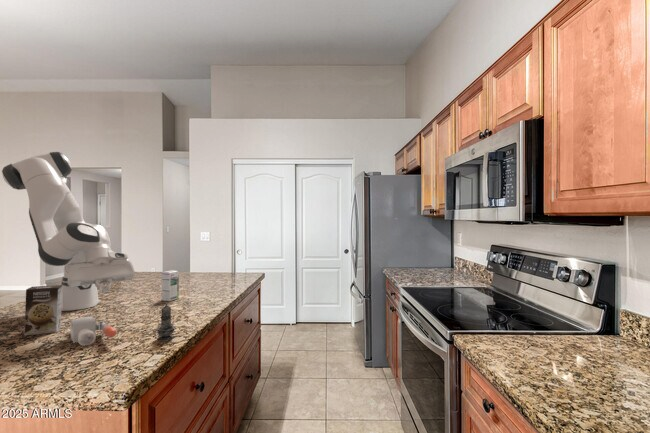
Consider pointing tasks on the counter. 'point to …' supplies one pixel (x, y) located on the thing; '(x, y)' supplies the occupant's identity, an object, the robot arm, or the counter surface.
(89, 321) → the valve
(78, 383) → the counter surface
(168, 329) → the grey chess pawn
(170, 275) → the syrup box
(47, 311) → the cookie box
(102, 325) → the lever
